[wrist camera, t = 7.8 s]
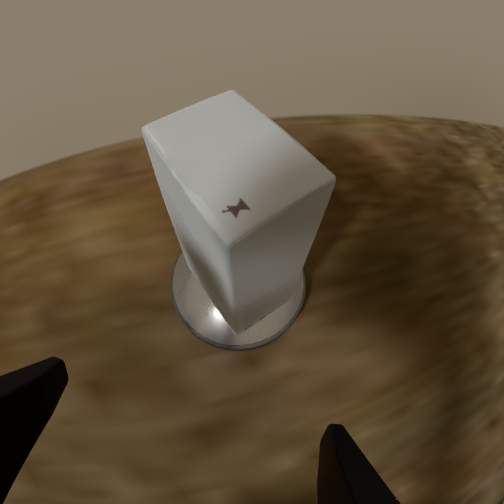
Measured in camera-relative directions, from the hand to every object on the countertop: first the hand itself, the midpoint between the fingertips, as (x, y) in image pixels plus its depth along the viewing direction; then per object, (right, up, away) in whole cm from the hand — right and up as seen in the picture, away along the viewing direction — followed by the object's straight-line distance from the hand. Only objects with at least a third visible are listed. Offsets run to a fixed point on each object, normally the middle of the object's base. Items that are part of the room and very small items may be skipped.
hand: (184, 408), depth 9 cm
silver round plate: (+1, +2, +13) cm, 13 cm away
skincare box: (+1, +3, +12) cm, 12 cm away
